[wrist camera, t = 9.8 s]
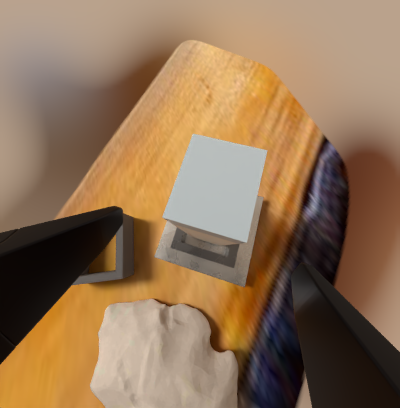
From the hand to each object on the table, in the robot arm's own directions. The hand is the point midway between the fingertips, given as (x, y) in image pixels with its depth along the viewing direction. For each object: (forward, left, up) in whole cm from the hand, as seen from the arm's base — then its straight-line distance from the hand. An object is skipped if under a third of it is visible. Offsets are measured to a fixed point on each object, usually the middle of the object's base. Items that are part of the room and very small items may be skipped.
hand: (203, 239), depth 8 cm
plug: (+2, 0, -10) cm, 10 cm away
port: (+2, 0, -11) cm, 11 cm away
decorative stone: (-11, +2, -12) cm, 16 cm away
